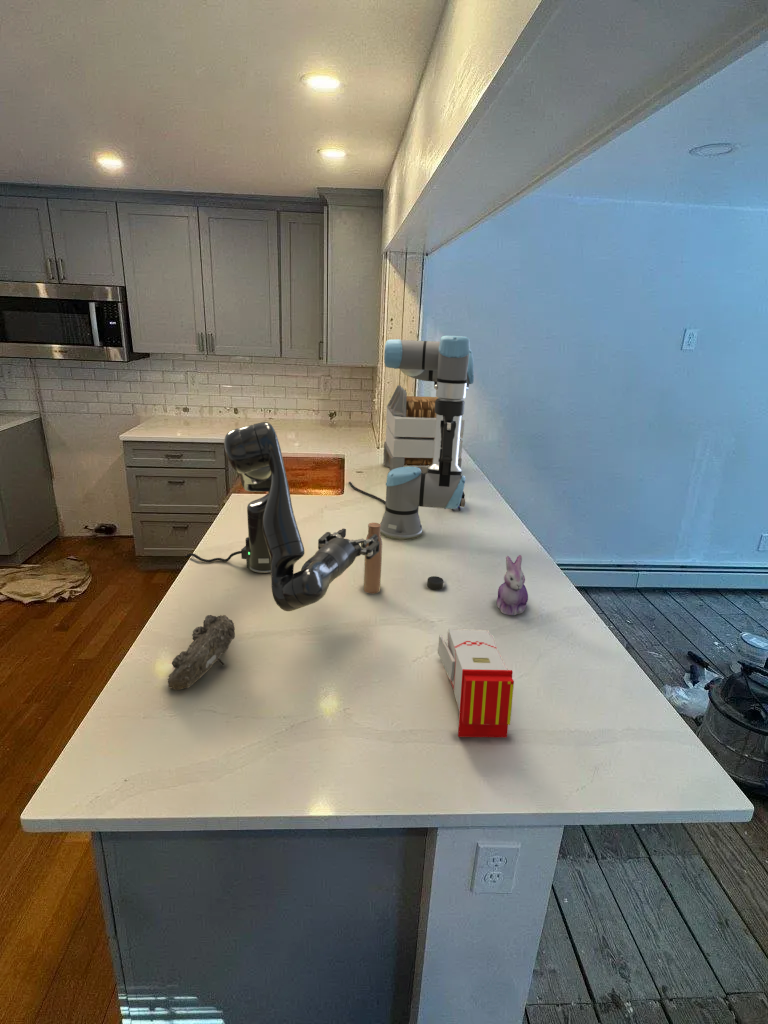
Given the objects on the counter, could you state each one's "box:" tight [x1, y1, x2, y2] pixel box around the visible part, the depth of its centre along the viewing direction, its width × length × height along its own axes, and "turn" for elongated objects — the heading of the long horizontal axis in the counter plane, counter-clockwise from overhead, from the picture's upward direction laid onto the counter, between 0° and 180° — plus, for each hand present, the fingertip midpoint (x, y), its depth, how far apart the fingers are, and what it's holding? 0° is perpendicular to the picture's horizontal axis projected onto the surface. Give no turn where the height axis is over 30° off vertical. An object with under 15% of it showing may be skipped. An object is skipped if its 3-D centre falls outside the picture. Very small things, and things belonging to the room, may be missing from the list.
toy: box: [437, 628, 515, 738], centre depth 117 cm, size 12×13×30 cm
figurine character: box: [451, 490, 466, 511], centre depth 229 cm, size 7×8×15 cm
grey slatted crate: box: [383, 384, 465, 472], centre depth 268 cm, size 34×33×41 cm
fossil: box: [167, 614, 236, 691], centre depth 122 cm, size 22×10×15 cm
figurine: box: [496, 554, 529, 616], centre depth 150 cm, size 9×10×15 cm
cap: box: [426, 575, 444, 591], centre depth 163 cm, size 5×5×2 cm
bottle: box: [363, 522, 383, 594], centre depth 156 cm, size 5×5×20 cm
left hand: (360, 534), depth 144 cm, fingers open, 8 cm apart
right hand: (443, 478), depth 152 cm, fingers open, 13 cm apart
